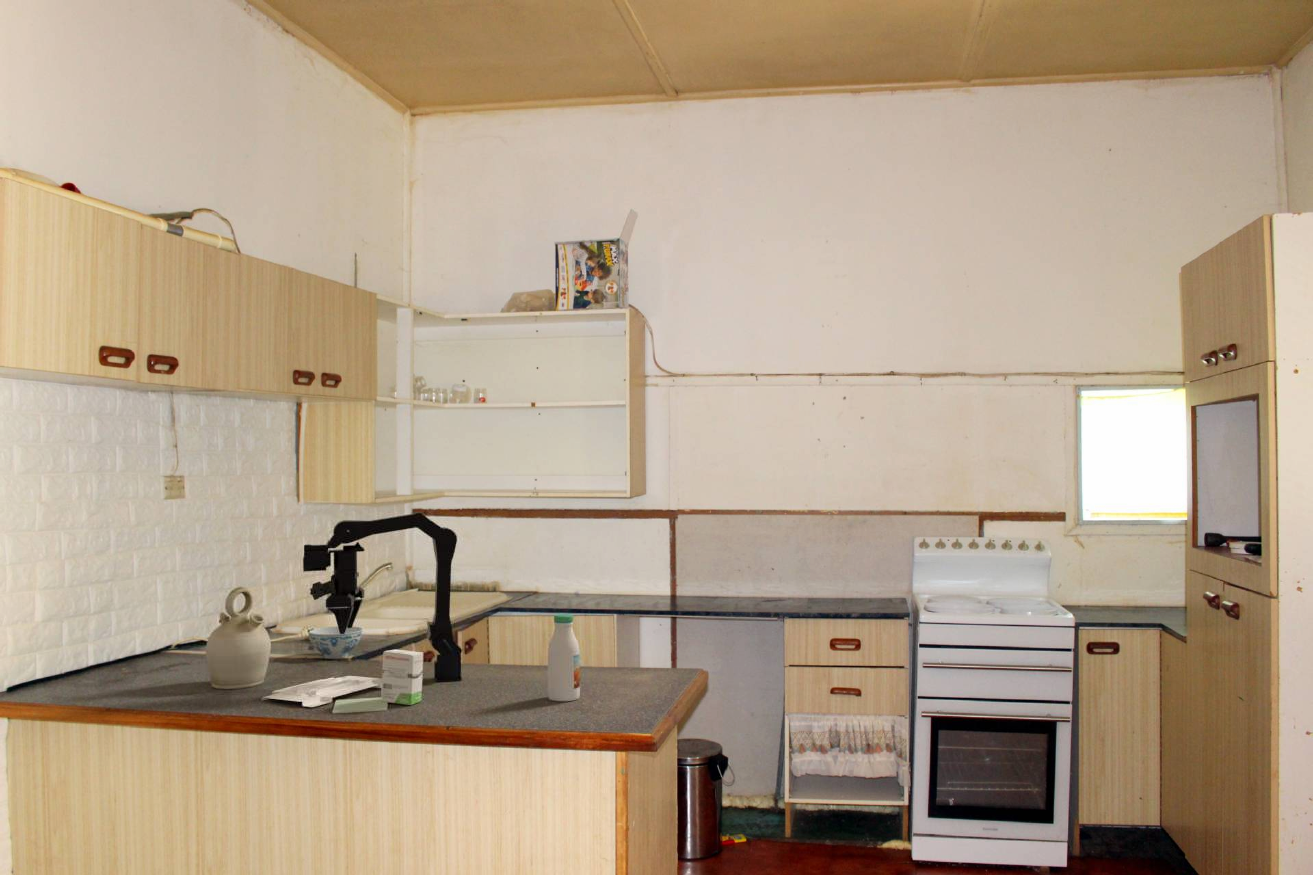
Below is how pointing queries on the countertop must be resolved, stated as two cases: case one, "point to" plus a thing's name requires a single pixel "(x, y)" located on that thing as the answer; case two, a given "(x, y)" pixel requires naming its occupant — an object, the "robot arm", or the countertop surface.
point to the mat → (359, 705)
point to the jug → (238, 646)
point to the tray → (324, 690)
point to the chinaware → (335, 641)
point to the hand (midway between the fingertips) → (346, 630)
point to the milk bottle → (563, 661)
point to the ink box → (402, 677)
